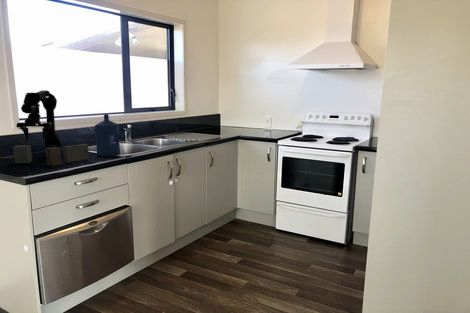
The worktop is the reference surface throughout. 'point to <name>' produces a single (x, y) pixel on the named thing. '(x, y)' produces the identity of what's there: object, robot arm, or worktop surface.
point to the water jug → (107, 137)
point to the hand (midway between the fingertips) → (35, 139)
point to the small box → (22, 154)
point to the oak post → (53, 156)
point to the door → (75, 153)
